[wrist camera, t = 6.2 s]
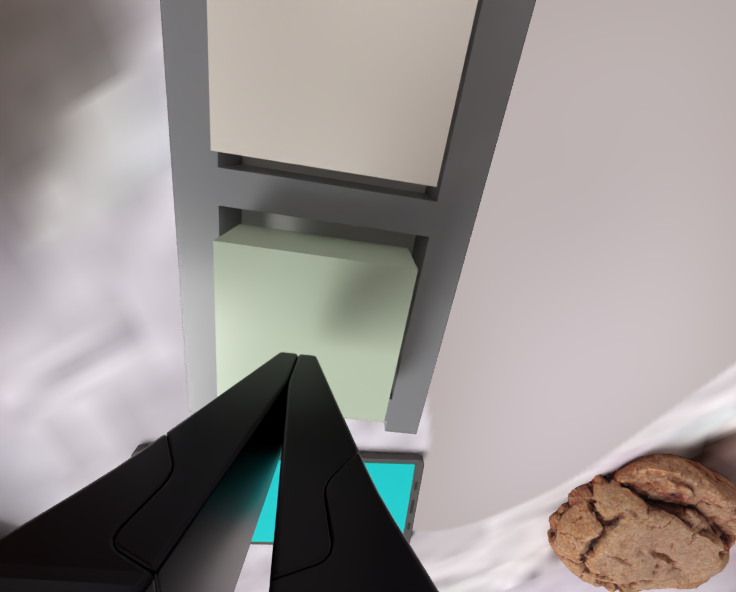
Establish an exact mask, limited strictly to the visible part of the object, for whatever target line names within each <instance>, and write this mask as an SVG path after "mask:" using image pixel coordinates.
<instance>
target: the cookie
mask: <svg viewBox="0 0 736 592" xmlns="http://www.w3.org/2000/svg"><path fill="white" fill-rule="evenodd" d="M568 500H569V502H567V503H564V504H562V505H561V506H560V507H559V509H558V510H557V511H556V512H555V513H553V514H552V515H551V516H550V517H549V523H550V527H551V529H550V530H549V531H548V537H549V543H550V545H551V547H552V549H553V551H554V552H555V553H556V555H557V556H558V557H559V558H560V560H561V561H562V562H563V563H564V564H565V565H566V567H567V568H568V569H569V570H570V571H571V572H572V573H574V574H575V575H576V576H578V577H579V578H580V579H581V580H583V581H585V582H587V583H590V584H592V585H594V586H596V587H600V586H603V587H605V588H606V589H607V590H608V591H609V592H614V591H616V590H619V591H620V592H639V591H641V590H650V589H665V588H677V589H691V588H695V589H696V588H697V587H698V586H699V585H701V584H703V583H705V582H707V581H708V580H709V579H710V578H711V577H712V576H714V575H716V574H718V573H719V572H721V571H722V570H723V569H724V568H725V566H726V564H727V563H728V561H729V549H730V547H732V546H733V545H734V544H735V543H734V542H735V541H736V487H735V485H734V484H733V483H732V482H730V481H729V480H727V479H726V478H724V477H723V476H721V475H720V474H719V473H718V472H714V471H712V470H711V469H709V468H706V467H704V466H703V465H702V464H701V463H699V462H696V461H692V460H689V459H686V458H683V457H678V456H677V455H672V454H653V455H651V456H646V457H641V458H639V459H637V460H635V461H633V462H631V463H629V464H627V465H626V466H625V467H623V468H621V469H620V470H616V471H615V472H614V473H613V474H612V475H609V476H607V477H606V478H604V477H602V476H601V475H596V476H595V477H594V479H593V480H592V481H590V482H589V483H587V484H584V485H580V486H578V487H576V488H575V489H573V490H572V491H571V492H570V493H569V494H568Z"/></svg>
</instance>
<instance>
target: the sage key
mask: <svg viewBox="0 0 736 592" xmlns="http://www.w3.org/2000/svg"><path fill="white" fill-rule="evenodd" d="M213 258H214V296H215V334H216V371H217V397H218V396H219V395H221V394H222V393H224V392H225V391H226V390H228V389H229V388H231V387H232V386H233V385H235V384H236V383H238V382H239V381H240V380H242V379H243V378H245V377H246V376H247V375H249V374H250V373H252V372H253V371H254V370H256V369H257V368H259V367H260V366H262V365H263V364H264V363H266V362H267V361H269V360H270V359H271V358H273V357H274V356H276V355H277V354H278V353H280V352H287V353H295V354H297V355H298V356H299V355H300V354H304V355H313V356H316V357H317V359H318V362H319V364H320V366H321V368H322V370H323V373H324V375H325V377H326V379H327V382H328V384H329V386H330V388H331V390H332V393H333V395H334V397H335V399H336V402H337V404H338V406H339V408H340V411H341V413H342V415H343V417H344V418H346V419H355V420H365V421H375V422H384V420H385V416H386V411H387V407H388V402H389V398H390V393H391V389H392V384H393V380H394V375H395V371H396V366H397V362H398V357H399V353H400V348H401V344H402V339H403V335H404V330H405V326H406V321H407V317H408V312H409V308H410V303H411V299H412V294H413V290H414V285H415V281H416V276H417V272H418V269H417V266H416V264H415V262H414V260H413V258H412V256H411V254H410V252H409V250H408V248H403V247H396V246H389V245H382V244H375V243H369V242H362V241H355V240H348V239H341V238H334V237H327V236H320V235H314V234H307V233H300V232H293V231H286V230H279V229H272V228H265V227H259V226H252V225H245V224H239V225H238V226H236V227H234V228H233V229H231V230H230V231H228V232H226V233H225V234H223V235H222V236H220V237H218V238H217V239H215V240H214V241H213Z"/></svg>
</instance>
